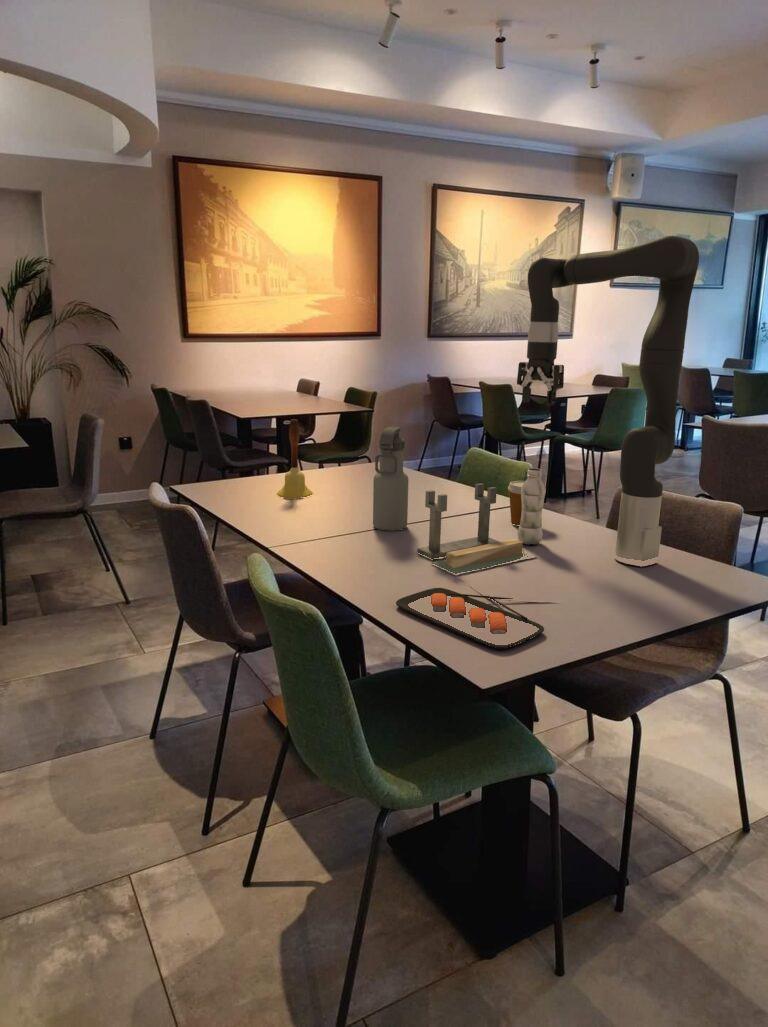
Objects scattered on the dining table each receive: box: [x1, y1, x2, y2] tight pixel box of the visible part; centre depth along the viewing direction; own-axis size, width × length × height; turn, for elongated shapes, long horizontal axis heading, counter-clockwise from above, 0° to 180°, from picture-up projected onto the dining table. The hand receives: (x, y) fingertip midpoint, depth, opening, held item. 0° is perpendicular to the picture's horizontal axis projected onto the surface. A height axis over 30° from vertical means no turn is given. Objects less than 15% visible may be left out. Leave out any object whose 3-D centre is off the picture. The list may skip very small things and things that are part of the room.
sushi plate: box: [395, 587, 545, 649], centre depth 145 cm, size 29×30×4 cm
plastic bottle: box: [517, 467, 547, 545], centre depth 188 cm, size 6×7×20 cm
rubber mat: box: [431, 549, 528, 574], centre depth 176 cm, size 9×26×1 cm, turn 124°
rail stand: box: [416, 482, 500, 559], centre depth 182 cm, size 6×22×16 cm, turn 124°
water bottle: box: [372, 426, 409, 531], centre depth 200 cm, size 10×10×28 cm
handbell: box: [276, 418, 314, 499], centre depth 237 cm, size 12×12×25 cm
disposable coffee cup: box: [507, 480, 526, 525], centre depth 208 cm, size 10×10×12 cm
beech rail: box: [445, 538, 524, 568], centre depth 175 cm, size 3×22×3 cm, turn 124°
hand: (538, 403), depth 189 cm, fingers open, 8 cm apart
